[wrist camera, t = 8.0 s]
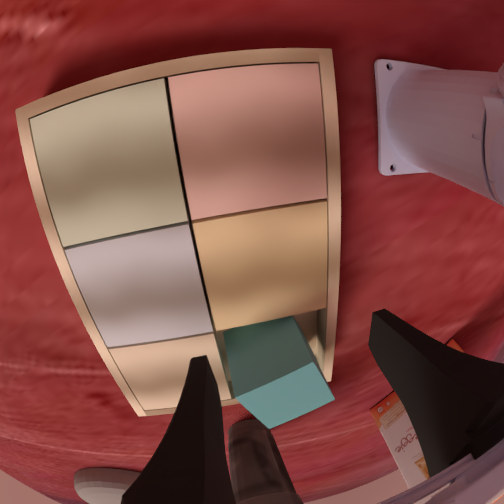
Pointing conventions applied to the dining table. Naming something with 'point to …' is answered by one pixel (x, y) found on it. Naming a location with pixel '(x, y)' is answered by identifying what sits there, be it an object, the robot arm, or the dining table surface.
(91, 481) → the grey thick round disc
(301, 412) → the teal block
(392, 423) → the cracker box
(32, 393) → the dining table surface
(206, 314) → the puzzle board
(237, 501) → the beverage cup
